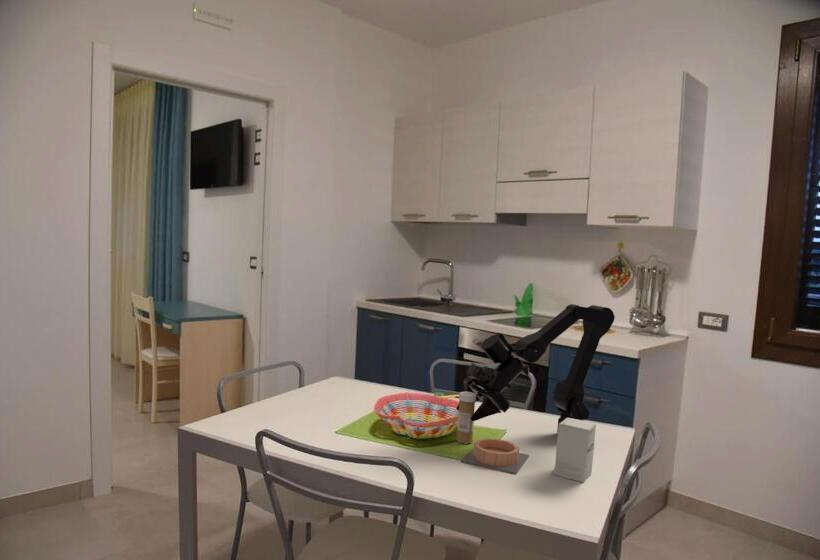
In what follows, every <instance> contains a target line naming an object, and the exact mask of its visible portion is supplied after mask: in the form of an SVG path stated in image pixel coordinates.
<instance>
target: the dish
mask: <svg viewBox="0 0 820 560" xmlns="http://www.w3.org/2000/svg"><path fill="white" fill-rule="evenodd" d="M529 457H530V454H527V453H523V452H520V448H519V446H518V445H517V444H516V443H513V442H511V441H508V440H505V439H501V438H487V437H486V438H481V439H477V440H476V441H475V442H474V443H473V448H471V450H469V452H468V453H466V454H465V456H463V458H461V459H460V463H464V464H468V465H473V466H477V467H483V468H486V469H492V470H495V471H499V472H503V473H508V474H514V475H518V473H519V472H520V471H521V468H522V467H523V466H524V464H525V462H526V461H527V460H528V458H529Z"/></svg>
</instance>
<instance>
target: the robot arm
mask: <svg viewBox="0 0 820 560" xmlns="http://www.w3.org/2000/svg"><path fill="white" fill-rule="evenodd" d="M615 317H616V315H615V314H614V311H613V310H612V309H611V308H610V307H606V306H601V305H595V304H592V305H589V306H588V307H587V306H582V305H579V304H578V305H577V304H573V303H571V304H568V305H567V306H566V307H565V308H564V310H562V311H561V312H560V313H558V314H557V315H556V316H555V317H554V318H552V319H551V320H550V321H548V322H547V323H546V324H545V325H543V326H542V327H541V328H540V329H538V330H537V331H535V332H534V333H531V334H527V335H525V336H523V337H522V338H520V339H518V340H517V341H516V342H513V343H509V342H508V340H507V339H506V338H505V336H504V334H503V333H501V332H496V333H495V334H493V335H491V336H489V337H488V338H485V339H484V340H483V341H482V343H481V345H480V347H481V349H482V350H483V352H484V353H485V354H486V355H487V357H488V358H489V359H490V360H491V362H493V364H498V365H497V366H496V367H495V368H490V367H488V366H487V365H485V366H483V367H481V366H478V365H476V364H475V363H471V364H470V366H469V368H468V370H467V372H466V373H467V376H466V377H465V378H464V379H463V386H464V392H472V393H475V394H476V401H475V403H476V402H479V401H480V399H481V398H482V402H481V404H480V405H479V406H478V408H477V409H476V410H474V414H473V415H472V417H471V418H470V419H471V420H472V421H474V422H475V421H479V420H481V419H484V418H487V417H490V416H493V415H496V414H501V413H502V412H503V413H506V412H507V411H508V410H509V409H510V406H511V402H510V401H509V400H508V399H507V398H506V396H505V395H504V394H503V393H502V392H503V391H504V390H505V389H507V390H509V389H511V388H512V386H511V385H510V384H511V383H512V382H513V381H514V380H515V379H516V378H517V377H518V376H519V375H520V374H521V375H523V376H527V377H528V376H529V374H530V372H529V365H528V364H525V363H523V362H522V361H525V362H527V363H530V364H534V363H536V362H538V361H539V360H540V359H541V358H542V357H543V355H545V353H546V351H547V349H548V346H550V344H551V343H552V342H553V341H555V340H556V339H557V338H559V337H560V336H561V335H562V334H563V333H565V332H566V331H567V330H568V329H569V328H571V327H572V326H573V325H574V324H576V322H578V321H579V320H582V330H583V333H582V336H581V339H580V342H579V344H578V347H577V350H576V352H575V355H574V357H573V359H572V360H573V361H572V363H571V365H570V368H569V371H568V374H567V376H566V378H564V380H563V381H559V380H557V382H556V383H555V388H554V390H553V391H552V394H553V397H552V400H553V404H554V405H555V406H556V409H557V412H558V413H561V414H560V416H559V417H558V420H557V428H556V429H557V430H556V432H557V433H558V426H559V424H560V423H561V422H562V421H563V420H565V419H566V418H572V419H577V420H582V421H585V420H588V419H589V416H590V414H591V412H590V411H589V409H588V408H587V406H586V405H585V404H584V400H585V387H584V384H585V381H586V378H587V375H588V373H589V370H590V368H591V365H592V362H593V359H594V357H595V355H596V352H597V349H598V346H599V344H600V340H601V338H603V337H604V336H605V335H606V334H607V333H608V332H609V331H610V329H611V327H612V326H613V323H614V322H615V319H616V318H615ZM514 355H515V357H514ZM456 411H457V412H459V403H458V404H457V406H456Z"/></svg>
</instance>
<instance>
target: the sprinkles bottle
mask: <svg viewBox="0 0 820 560" xmlns="http://www.w3.org/2000/svg"><path fill="white" fill-rule="evenodd" d="M458 394H459V395H458V396H459V397H458V400H459V402H458V404H459V411H457V412H458V414H457V428H456V430H457V433H456V441H457V443H459V444H462V443H464V444H463V445H468V443H470V444H473V441H474V439H473V438H474V426H475V425H474V424H475V421H472V420H471V419H470V418H471V417H472V415H473V414H474V413H475V407H476V406H475V404H476V402H475V401H476V394H475V393H472V392H465V391H460V392H459V393H458Z"/></svg>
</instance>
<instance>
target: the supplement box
mask: <svg viewBox="0 0 820 560" xmlns="http://www.w3.org/2000/svg"><path fill="white" fill-rule="evenodd" d="M596 427H597V423H595V422H592V421H586V420H584V421H582V420H577V419H572V418H566V419H565V420H563V421H562V422H561V423H560V424H559V426H558V425H557V428H558V432H557V440H556V451H555V462H554V473H553V474H554V475H555V476H559V477H562V478H566V479H568V480H569V479H570V480H573V481H577V482H581V483H585V481H586V479H587V478H589V476H590V475H591V474H592V473H593V464H594V463H593V461H594V451H595V441H596V440H595V439H596V430H597V429H596Z"/></svg>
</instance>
